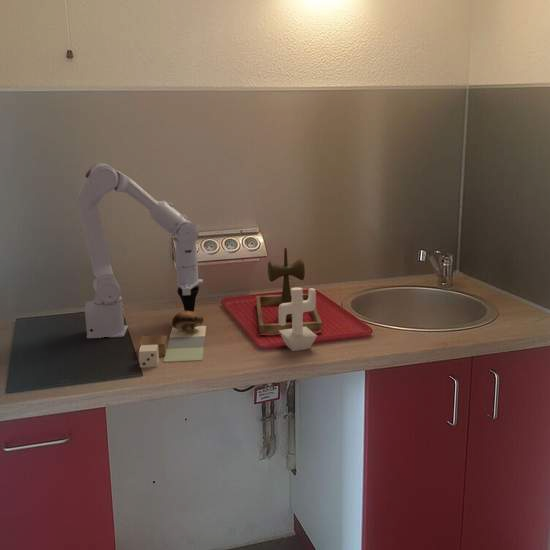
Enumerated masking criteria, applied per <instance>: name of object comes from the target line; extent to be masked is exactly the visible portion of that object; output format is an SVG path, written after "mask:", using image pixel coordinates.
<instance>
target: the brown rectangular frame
mask: <svg viewBox="0 0 550 550" xmlns="http://www.w3.org/2000/svg"><path fill="white" fill-rule="evenodd" d="M255 297H256V298H255V300H256V303H255V304H256V315H257V314H258V315H257V323H259V324H258V332H260V334H277V333H280V332H279V330H284V329H291V328H292V322H286V325H285V326H281V325H279V322H278V323H264V320H263V312H262V307H266V306H267V307H269V306H271V307H273V306H279V305H280V304H279V303H278V301H279V300H280V299H281V297H282V294H275V295H274V294H273V295H256V296H255ZM302 298H303V301H305V300H308V293H303V297H302ZM309 312H310V314H312V315H311V318H312V317H313V318H312V320H313V319H314V320H313V321H309V322H308V321H305V322H304V321H303V327H305V326H306V327H307V328H308V329H310V330H311V331H319V330H322V331H323V323H322V319H321V317H320V314H319V312H318V310H317V307H315V309H314V310H313V311H309ZM260 334H259V335H260Z"/></svg>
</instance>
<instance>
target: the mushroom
mask: <svg viewBox="0 0 550 550" xmlns="http://www.w3.org/2000/svg"><path fill="white" fill-rule="evenodd" d="M203 322H204V316H203V315H202V314H200V313H198V312H196V311H194V312H193V311H185V310H184V311H180V312H178V313H177V314H176V315H175V316H174V317H173V318H172V322H171V323H172V324H171V325H172V327H174V328H175V329H182V330H183V331H184V332H186V333H195V332H194V328H195V327H197V326H202V324H203Z"/></svg>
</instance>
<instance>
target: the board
mask: <svg viewBox="0 0 550 550" xmlns="http://www.w3.org/2000/svg"><path fill="white" fill-rule="evenodd" d="M206 331H207V325H199V326H197V327H195V328H194V332H195V333H186V332H184V331H183V330H182V329H175V328H174V327H173V326H172V328H171V332H170V335H169V339H168V342H167V344H168V346H167V350H166V354H165V356H164V359H163V363H177V362H180V363H181V362H197V361H198V362H199V361H200V362H202V361H203V358H204V349H205V341H206Z"/></svg>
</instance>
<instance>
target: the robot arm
mask: <svg viewBox="0 0 550 550" xmlns="http://www.w3.org/2000/svg"><path fill="white" fill-rule="evenodd" d="M113 190H114V191H115V192H116V193H117V192H119V193H126V194H127V195H129V196H130V197H131V198H133V199H134V200H136V201H137V202H138V203H139V204H141V205H142V206H143V207H144V208H146V209H147V210H148V211H149V217H150V219H152V220H153V221H154V222H155V223H157V225H159V226H160V227H162V229H164V230H165V231H166V232H167V233H170V234H172V236H173V238H175V239H174V244H175V245H174V246H175V248H174V251H175V252H174V253H175V255H174V256H175V267H176V268H175V269H176V286H178V288H177V291H176V292H177V294H178V297H179V298H180V300H181V303H182V305H183V308H184V311H193V312H195V307H196V298H197V296H198V293H199V291H200V285H199V284H203V283H204V281H203V280H204V279H202V278H199V269H198V268H199V265H198V264H199V263H198V250H197V240H198V237H199V231H198V229H197V227H196V225H195V224H193V222H191V221H190V220H189V219H188V217H187V215H185V214H181V212H179V211H177V210H176V208H174V204H173V203H172V202H170V201H168V202H167V201H166V200H160V201H158V200H156V199H155V198H154V197H152V195H150V194H149V193H148V192H147V191H146V190H144V189H143V188H142V187H141V186H140V185H139V184H138V183H136V182H135V181H134V180H133V179H131V177H129V176H127V175H126V174H124V173H122V172H121V171H119V170H117V169H116V168H113V167H112V166H111V165H110V164H108V163H106V162H104V161H103V162H101V161H100V162H96V163H94V164H93V165H92V166H91V167H90V168H89V169H88V170H87V171H86V172H85V174H84V177H83V180H82V183H81V185H80V188H79V190H78V193H77V196H76V203H77V207H78V211H79V215H80V220H81V224H82V228H83V233H84V237H85V241H86V245H87V249H88V254H89V257H90V262H91V265H92V266H91V267H92V272H93V279H92V288H93V290H94V291H95V296H94V298H93V300H90V301H86V302H85V306H84V316H85V317H84V318H85V327H86V328H85V329H86V338H87V339H102V337H103V339H104V337H109V338H124V336H125V334H126V333H127V330H128V327H129V325H127V324H126V325H125V320H124V319H125V318H124V308H123V307H124V306H123V297H122V295H121V294H122V288H121V287H122V286H120V284H119V283H118V281H117V278H116V276H115V274H114V272H113V269H112V268H113V267H112V265H111V260H110V256H109V252H108V248H107V247H108V246H107V242H106V239H105V238H106V237H105V235H104V230H103V225H102V221H101V217H100V213H99V208H98V204H99V203H100V202H101V200H103V198H104V196H106V194H108V193H110V192H112V191H113Z"/></svg>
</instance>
